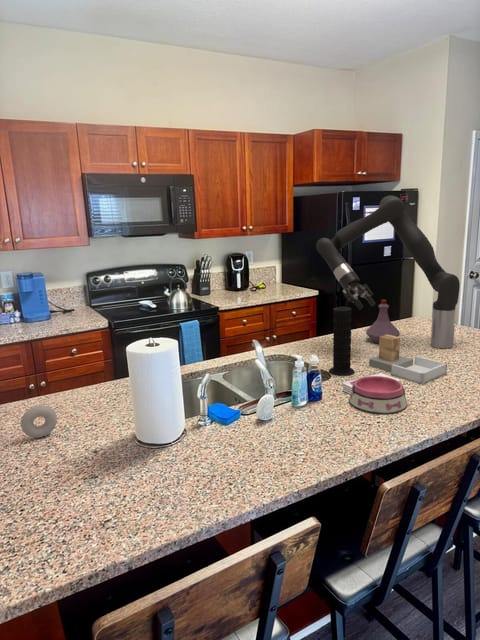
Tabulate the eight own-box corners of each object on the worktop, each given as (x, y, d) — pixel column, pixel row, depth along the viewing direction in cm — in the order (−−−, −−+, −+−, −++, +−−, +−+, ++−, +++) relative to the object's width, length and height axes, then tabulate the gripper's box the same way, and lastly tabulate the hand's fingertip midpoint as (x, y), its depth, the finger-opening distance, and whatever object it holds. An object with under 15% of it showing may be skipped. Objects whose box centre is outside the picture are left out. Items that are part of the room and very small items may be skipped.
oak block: (386, 355, 182) (387, 334, 180) (399, 358, 178) (400, 337, 176) (378, 358, 180) (379, 336, 178) (391, 361, 175) (392, 339, 173)
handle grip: (331, 376, 170) (357, 375, 170) (331, 309, 164) (358, 308, 164) (326, 367, 180) (351, 366, 180) (327, 304, 174) (352, 303, 173)
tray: (415, 365, 178) (416, 355, 177) (446, 373, 168) (447, 363, 167) (391, 374, 169) (391, 364, 168) (422, 384, 159) (422, 373, 158)
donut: (24, 444, 129) (18, 412, 127) (22, 439, 132) (17, 408, 129) (60, 434, 134) (55, 403, 132) (58, 429, 137) (53, 399, 134)
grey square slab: (387, 359, 187) (387, 352, 186) (412, 366, 177) (413, 359, 177) (369, 365, 180) (369, 358, 179) (394, 373, 170) (394, 366, 170)
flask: (359, 337, 220) (360, 298, 215) (391, 335, 222) (392, 296, 217) (372, 347, 204) (374, 304, 199) (406, 344, 206) (408, 302, 201)
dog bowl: (347, 390, 157) (348, 372, 155) (402, 393, 153) (403, 374, 152) (349, 413, 139) (349, 393, 138) (411, 416, 136) (412, 395, 134)
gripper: (340, 272, 182) (362, 304, 176) (362, 269, 190) (384, 299, 184) (330, 283, 187) (351, 314, 181) (351, 279, 196) (372, 309, 189)
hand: (367, 306), depth 183 cm, fingers open, 7 cm apart
